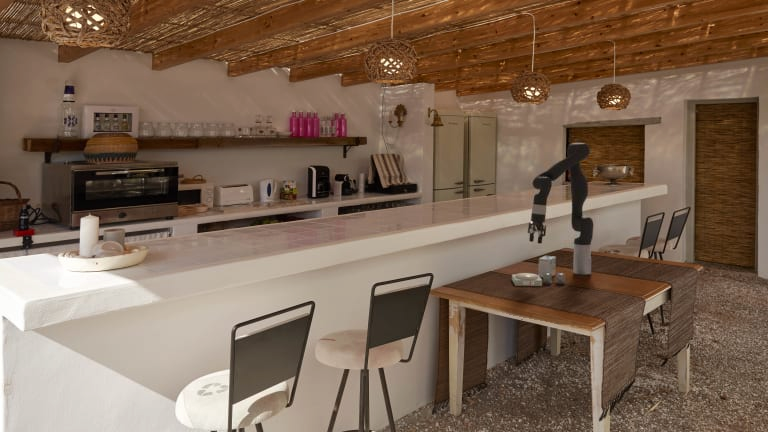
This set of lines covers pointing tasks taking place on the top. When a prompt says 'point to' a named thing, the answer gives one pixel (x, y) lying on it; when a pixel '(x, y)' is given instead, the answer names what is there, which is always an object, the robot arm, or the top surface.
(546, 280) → the spacer
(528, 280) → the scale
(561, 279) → the spacer
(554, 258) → the light bulb box
